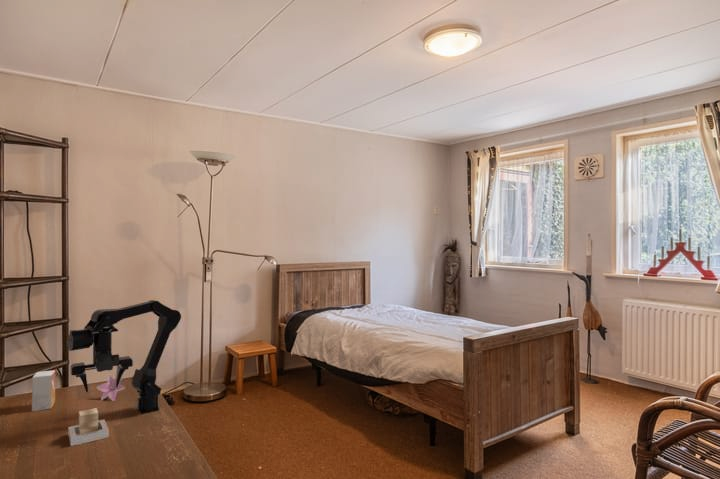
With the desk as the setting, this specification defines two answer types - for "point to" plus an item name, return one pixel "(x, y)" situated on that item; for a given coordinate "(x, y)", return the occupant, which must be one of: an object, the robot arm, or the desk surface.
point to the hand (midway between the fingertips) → (102, 389)
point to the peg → (88, 421)
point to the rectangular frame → (88, 434)
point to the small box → (43, 390)
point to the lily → (110, 388)
